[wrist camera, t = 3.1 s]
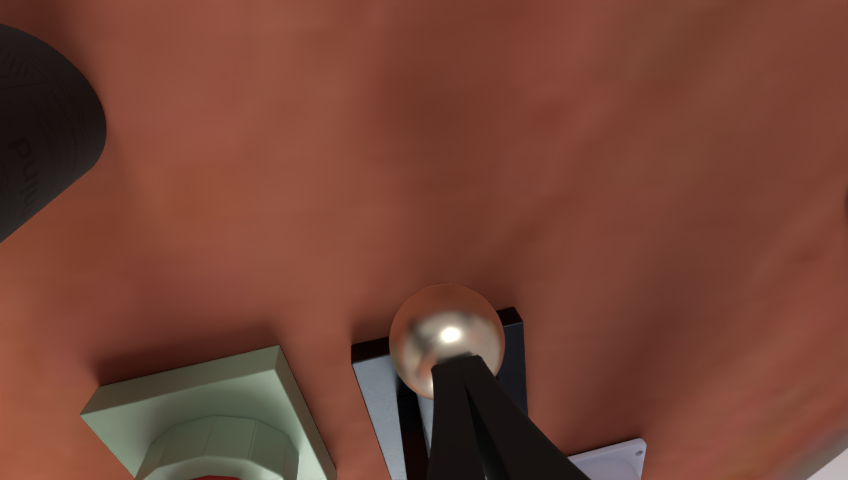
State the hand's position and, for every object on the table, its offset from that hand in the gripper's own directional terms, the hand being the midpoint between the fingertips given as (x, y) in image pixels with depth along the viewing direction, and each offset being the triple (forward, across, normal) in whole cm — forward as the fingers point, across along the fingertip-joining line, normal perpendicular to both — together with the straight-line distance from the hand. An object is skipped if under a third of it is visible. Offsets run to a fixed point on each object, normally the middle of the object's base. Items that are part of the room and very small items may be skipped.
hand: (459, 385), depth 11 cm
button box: (+7, +11, +8) cm, 15 cm away
